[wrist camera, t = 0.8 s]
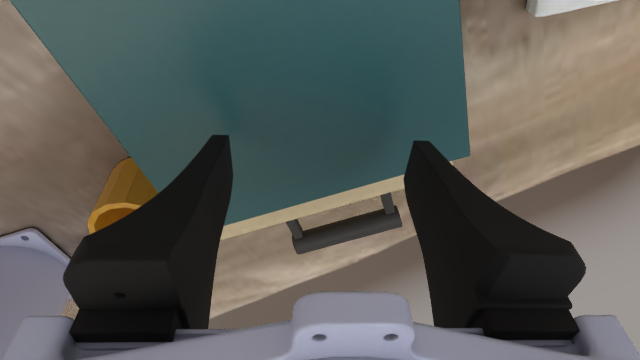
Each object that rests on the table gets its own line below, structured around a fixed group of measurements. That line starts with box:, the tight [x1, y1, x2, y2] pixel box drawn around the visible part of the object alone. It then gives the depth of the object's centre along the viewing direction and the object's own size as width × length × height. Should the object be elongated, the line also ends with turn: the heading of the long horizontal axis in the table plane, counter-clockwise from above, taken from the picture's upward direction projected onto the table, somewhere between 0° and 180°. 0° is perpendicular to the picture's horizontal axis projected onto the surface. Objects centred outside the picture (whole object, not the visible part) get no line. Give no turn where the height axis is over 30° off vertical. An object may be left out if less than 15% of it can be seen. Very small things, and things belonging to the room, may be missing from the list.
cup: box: [87, 158, 158, 234], centre depth 26 cm, size 5×5×5 cm
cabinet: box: [10, 0, 470, 226], centre depth 19 cm, size 13×14×8 cm
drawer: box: [220, 161, 453, 254], centre depth 22 cm, size 18×13×6 cm
